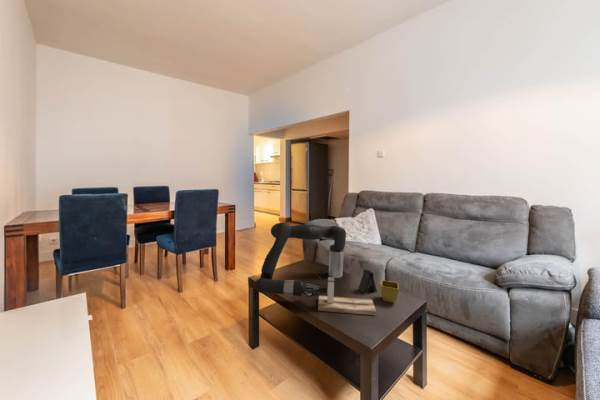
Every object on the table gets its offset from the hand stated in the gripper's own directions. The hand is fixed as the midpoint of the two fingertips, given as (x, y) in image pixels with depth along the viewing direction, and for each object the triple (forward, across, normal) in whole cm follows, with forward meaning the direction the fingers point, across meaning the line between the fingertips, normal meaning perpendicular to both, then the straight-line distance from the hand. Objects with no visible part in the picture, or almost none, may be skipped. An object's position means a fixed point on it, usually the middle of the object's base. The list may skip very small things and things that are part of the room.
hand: (326, 290), depth 131 cm
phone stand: (+24, +21, +8) cm, 33 cm away
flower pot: (+34, +11, +8) cm, 37 cm away
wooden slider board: (+10, 0, +8) cm, 13 cm away
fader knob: (+2, 0, +6) cm, 6 cm away
